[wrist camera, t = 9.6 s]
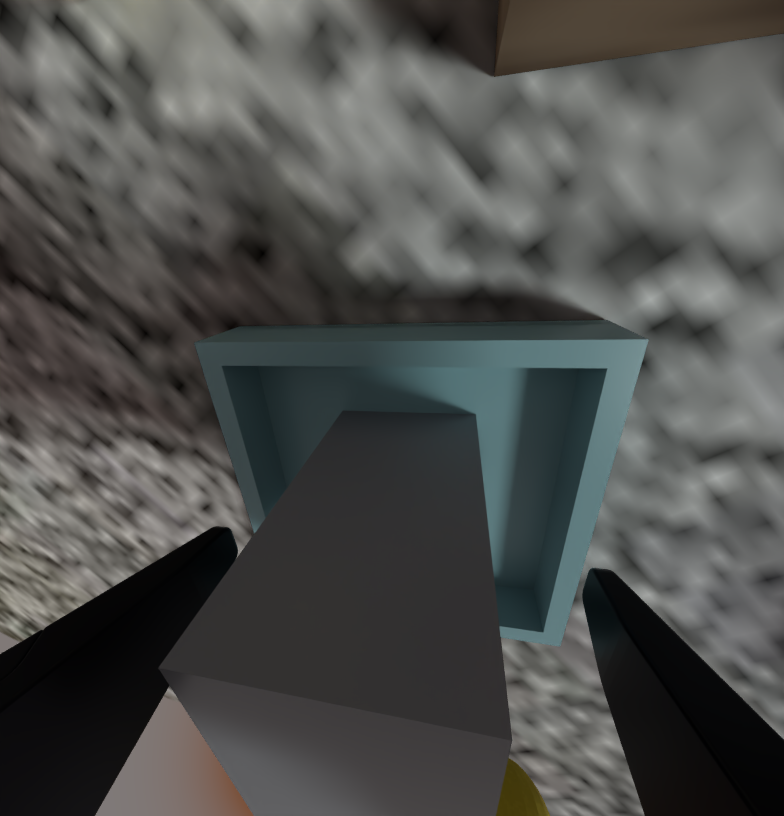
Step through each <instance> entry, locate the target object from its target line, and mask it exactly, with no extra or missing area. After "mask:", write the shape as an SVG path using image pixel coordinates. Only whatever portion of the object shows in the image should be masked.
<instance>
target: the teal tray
mask: <svg viewBox="0 0 784 816" xmlns="http://www.w3.org/2000/svg"><path fill="white" fill-rule="evenodd" d="M648 340H649V339H647V338H645V337H642V336H640V335H638V334H636V333H634V332H632V331H630V330H627V329H625V328H623V327H621V326H619V325H617V324H615V323H613V322H610V321H608V320H572V321H513V322H455V323H397V324H339V325H281V326H240V327H237V328H234V329H231V330H228V331H226V332H223V333H220V334H217V335H214V336H211V337H208V338H206V339H203V340H200V341H197V342H194V344H195V348H196V351H197V354H198V357H199V360H200V363H201V367H202V370H203V373H204V376H205V379H206V382H207V386H208V389H209V392H210V395H211V398H212V401H213V404H214V408H215V411H216V414H217V417H218V420H219V423H220V427H221V430H222V433H223V436H224V439H225V442H226V446H227V449H228V452H229V455H230V458H231V461H232V465H233V468H234V471H235V474H236V477H237V480H238V484H239V487H240V490H241V493H242V496H243V499H244V503H245V506H246V509H247V512H248V515H249V518H250V521H251V525H252V528H253V531H254V534H255V532H256V531H257V529H258V528H259V527H260V525H261V524H262V522H263V521H264V520H265V518H266V517H267V515H268V514H269V513H270V511H271V510H272V508H273V507H274V506H275V504H276V503H277V502H278V500H279V499H280V497H281V496H282V495H283V493H284V492H285V490H286V489H287V488H288V486H289V485H290V483H291V482H292V481H293V479H294V478H295V476H296V475H297V474H298V472H299V471H300V469H301V468H302V467H303V465H304V464H305V462H306V461H307V460H308V458H309V457H310V455H311V454H312V453H313V451H314V450H315V448H316V447H317V446H318V444H319V443H320V441H321V440H322V439H323V437H324V436H325V434H326V433H327V432H328V430H329V429H330V427H331V426H332V425H333V423H334V422H335V421H336V419H337V418H338V416H339V415H340V414H341V412H342V411H377V412H412V413H447V414H476V420H477V429H478V438H479V447H480V456H481V465H482V474H483V483H484V492H485V501H486V510H487V519H488V528H489V537H490V546H491V555H492V564H493V573H494V582H495V591H496V600H497V609H498V618H499V627H500V636H501V638H508V639H515V640H521V641H528V642H534V643H541V644H547V645H554V646H560V645H561V642H562V638H563V635H564V631H565V628H566V624H567V621H568V617H569V614H570V610H571V607H572V603H573V600H574V596H575V593H576V589H577V586H578V583H579V579H580V576H581V572H582V569H583V565H584V562H585V558H586V555H587V551H588V548H589V544H590V541H591V537H592V534H593V530H594V527H595V524H596V520H597V517H598V513H599V510H600V506H601V503H602V499H603V496H604V492H605V489H606V485H607V482H608V478H609V475H610V472H611V468H612V465H613V461H614V458H615V454H616V451H617V447H618V444H619V440H620V437H621V433H622V430H623V426H624V423H625V419H626V416H627V413H628V409H629V406H630V402H631V399H632V395H633V392H634V388H635V385H636V381H637V378H638V374H639V371H640V367H641V364H642V360H643V357H644V354H645V350H646V347H647V343H648Z"/></svg>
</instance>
